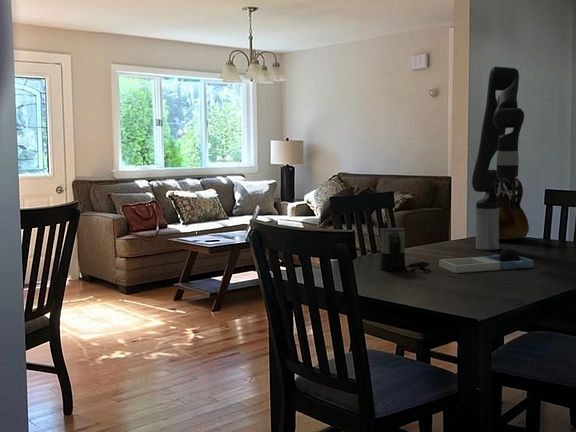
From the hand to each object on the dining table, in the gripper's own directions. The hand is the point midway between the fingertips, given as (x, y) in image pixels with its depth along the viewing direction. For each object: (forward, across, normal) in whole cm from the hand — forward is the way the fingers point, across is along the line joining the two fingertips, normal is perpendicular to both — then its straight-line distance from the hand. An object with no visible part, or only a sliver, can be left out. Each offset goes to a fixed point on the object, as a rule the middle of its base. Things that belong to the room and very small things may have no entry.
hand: (506, 208), depth 239 cm
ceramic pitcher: (+22, +54, -30) cm, 65 cm away
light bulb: (+21, -5, 0) cm, 21 cm away
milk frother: (+21, +1, +39) cm, 44 cm away
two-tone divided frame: (+20, -4, +10) cm, 23 cm away
